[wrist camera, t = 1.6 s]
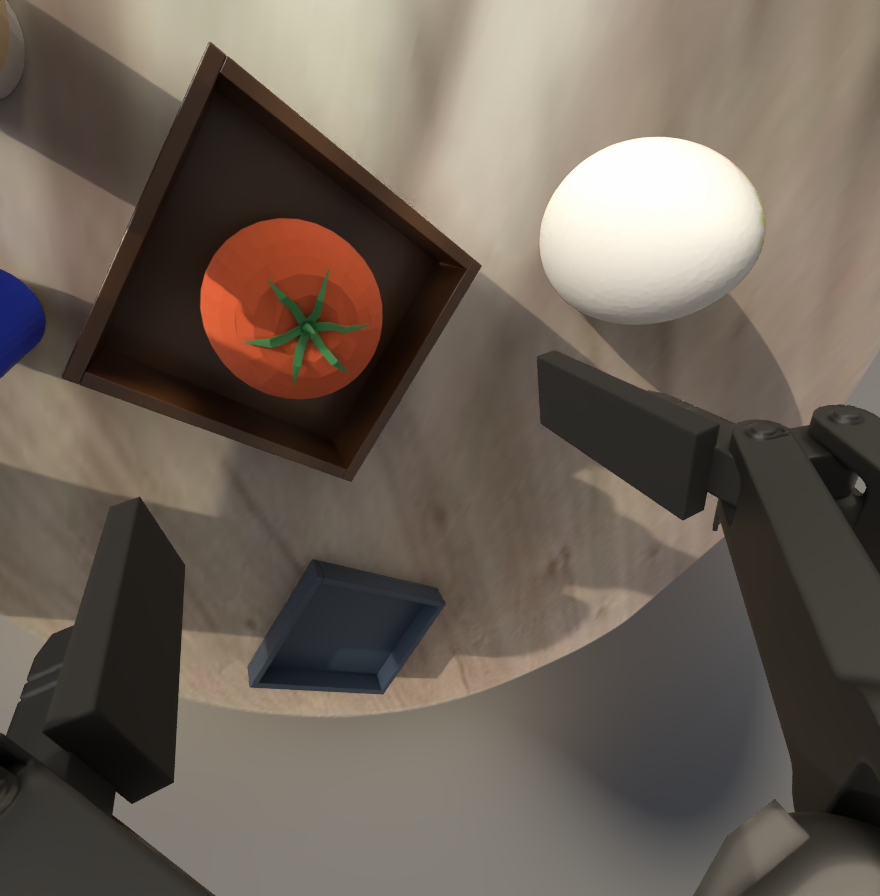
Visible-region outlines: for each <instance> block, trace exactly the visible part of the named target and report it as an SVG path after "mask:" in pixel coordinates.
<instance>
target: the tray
mask: <svg viewBox="0 0 880 896" xmlns="http://www.w3.org/2000/svg"><path fill="white" fill-rule="evenodd" d="M445 604H446V603H445V601H444V600H443V598H442V596H441V595H440V593H439V591H438V589H437V588H433V587H429V586H425V585H420V584H416V583H412V582H407V581H403V580H399V579H394V578H390V577H386V576H381V575H377V574H373V573H368V572H364V571H360V570H356V569H351V568H347V567H343V566H338V565H334V564H330V563H325V562H321V561H317V560H312V562H311V563H310V565H309V567H308V568H307V570H306V571H305V573H304V575H303V576H302V578H301V580H300V581H299V583H298V585H297V586H296V588H295V590H294V591H293V593H292V594H291V596H290V598H289V599H288V601H287V603H286V604H285V606H284V608H283V609H282V611H281V613H280V614H279V616H278V617H277V619H276V621H275V622H274V624H273V626H272V627H271V629H270V631H269V632H268V634H267V636H266V637H265V639H264V640H263V642H262V644H261V645H260V647H259V649H258V650H257V652H256V654H255V655H254V657H253V658H252V660H251V662H250V663H249V665H248V675H249V686H250V687H252V688H271V689H290V690H309V691H328V692H348V693H367V694H384V692H385V691H386V689H387V688H388V687H389V685H390V684H391V682H392V681H393V679H394V678H395V676H396V675H397V674H398V672H399V671H400V669H401V668H402V666H403V665H404V663H405V662H406V661H407V659H408V658H409V656H410V655H411V653H412V652H413V650H414V649H415V648H416V646H417V645H418V643H419V642H420V640H421V639H422V637H423V636H424V635H425V633H426V632H427V630H428V629H429V627H430V626H431V624H432V623H433V622H434V620H435V619H436V617H437V616H438V614H439V613H440V611H441V610H442V609H443V607H444V606H445Z"/></svg>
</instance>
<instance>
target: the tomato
mask: <svg viewBox="0 0 880 896" xmlns="http://www.w3.org/2000/svg"><path fill="white" fill-rule="evenodd" d="M200 310H201V315H202V320H203V326H204V329H205V331H206V334H207V336H208V338H209V341H210V343H211V345H212V347H213V349H214V350H215V352H216V353H217V355H218V356H219V358H220V359H221V361H222V362H223V364H224V365H225V366H226V367H227V368H228V369H229V370H230V371H231V372H232V373H233V374H234V375H235V376H236V377H238V378H239V379H241V380H242V381H243V382H245V383H246V384H248V385H249V386H251V387H253V388H255V389H257V390H259V391H262V392H264V393H266V394H270V395H274V396H278V397H282V398H288V399H310V398H318V397H321V396H324V395H328V394H331V393H333V392H335V391H337V390H339V389H341V388H343V387H345V386H346V385H348V384H349V383H350V382H351V381H353V380H354V379H355V378H357V377H358V375H359V374H360V373H361V372H362V371H363V370H364V369H365V368H366V367H367V365H368V363H369V362H370V360H371V358H372V357H373V355H374V353H375V351H376V348H377V345H378V343H379V340H380V334H381V329H382V302H381V297H380V292H379V288H378V286H377V283H376V281H375V278H374V276H373V273H372V272H371V270H370V268H369V267H368V265H367V264H366V262H365V261H364V259H363V258H362V257H361V256H360V255H359V253H358V252H357V251H356V250H355V249H354V248H353V247H352V246H351V245H350V244H349V243H348V242H347V241H345V240H344V239H342V238H341V237H340V236H338V235H337V234H336V233H334V232H333V231H331V230H329V229H327V228H324V227H322V226H320V225H318V224H316V223H312V222H308V221H304V220H300V219H286V218H277V219H271V220H266V221H260V222H257V223H255V224H253V225H250V226H248V227H246V228H243V229H241V230H240V231H239V232H237V233H236V234H234V235H233V236H232V237H230V238H229V239H228V240H226V241H225V243H224V244H223V245H222V246H221V247H220V248H219V250H218V251H217V252H216V253H215V254H214V256H213V258H212V260H211V262H210V264H209V266H208V268H207V269H206V271H205V275H204V279H203V283H202V287H201V302H200Z"/></svg>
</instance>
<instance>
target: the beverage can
mask: <svg viewBox="0 0 880 896" xmlns="http://www.w3.org/2000/svg"><path fill="white" fill-rule="evenodd" d="M44 330H45V315H44V311H43V308H42V306H41V304H40V302H39V300H38V299H37V297H36V296H35V295H34V293H33V292H32V291H31V290H30V289H29V288H28V287H27V286H26V285H25V284H24V283H22V282H21V281H20V280H19V279H17V278H16V277H14V276H13V275H11V274H9V273H7V272H5V271H3V270H1V269H0V378H1V377H2V376H3V375H5V374H6V373H7V372H8V371H9V370H10V369H11V368H12V367H13V366H14V365H15V364H17V363H18V362H19V361H20V360H21V359H22V358H23V357H24V356H25V355H26V354H27V353H28V352H30V351H31V350H32V349H33V348H34V347H35V346H36V345H37V344H38V343H39V341H40V340H41V338H42V336H43V334H44Z"/></svg>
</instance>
